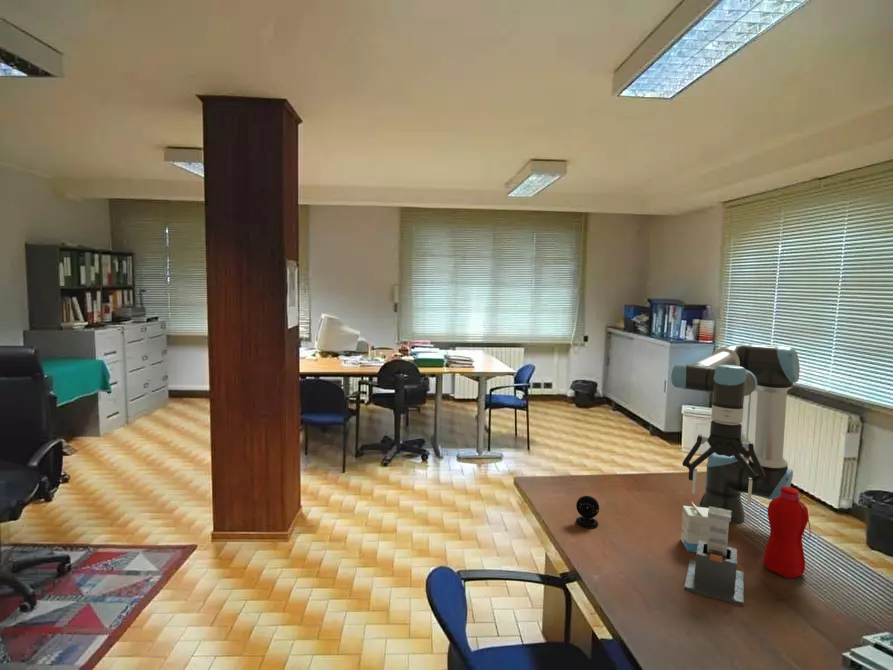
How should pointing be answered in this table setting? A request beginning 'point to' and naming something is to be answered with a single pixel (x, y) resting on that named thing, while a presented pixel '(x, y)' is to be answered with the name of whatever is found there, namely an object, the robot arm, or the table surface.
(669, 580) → the table surface
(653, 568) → the table surface
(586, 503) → the webcam
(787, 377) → the robot arm
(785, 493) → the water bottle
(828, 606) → the table surface
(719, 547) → the column
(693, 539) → the ink box
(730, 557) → the stand base
